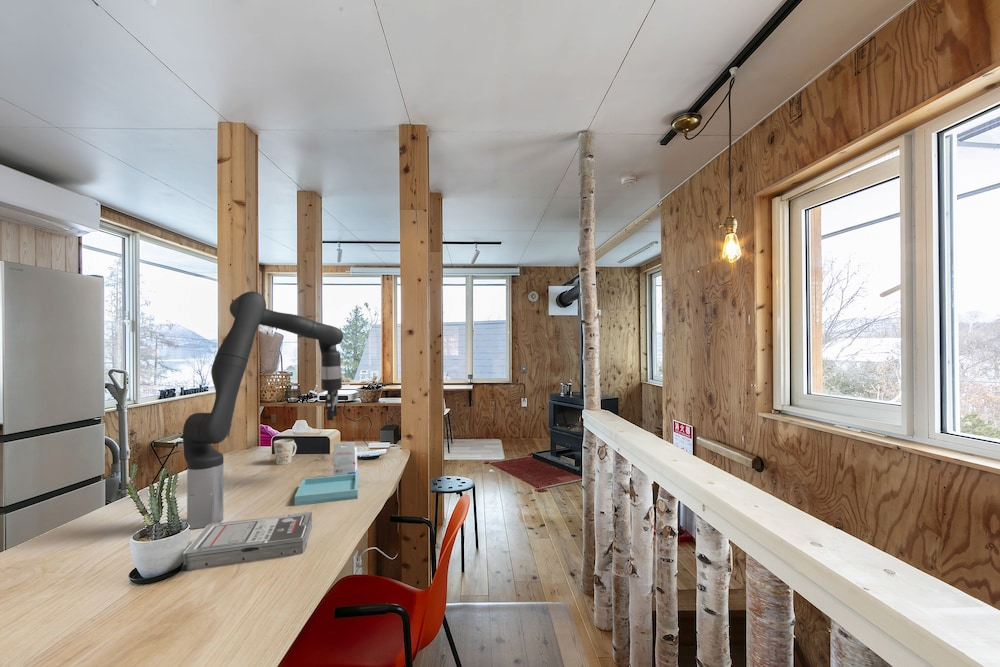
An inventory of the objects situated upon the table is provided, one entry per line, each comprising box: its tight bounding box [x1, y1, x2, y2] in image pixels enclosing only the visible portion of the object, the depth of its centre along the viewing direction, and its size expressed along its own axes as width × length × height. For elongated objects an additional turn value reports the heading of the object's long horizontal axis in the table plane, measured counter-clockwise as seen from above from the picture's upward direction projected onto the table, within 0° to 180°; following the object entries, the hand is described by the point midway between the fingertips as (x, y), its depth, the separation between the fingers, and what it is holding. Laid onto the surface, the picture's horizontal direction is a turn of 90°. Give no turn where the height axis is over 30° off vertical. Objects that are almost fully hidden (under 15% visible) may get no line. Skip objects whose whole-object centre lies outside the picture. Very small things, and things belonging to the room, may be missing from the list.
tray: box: [294, 473, 359, 506], centre depth 158 cm, size 20×20×3 cm
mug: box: [273, 438, 298, 465], centre depth 200 cm, size 8×13×10 cm, turn 171°
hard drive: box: [181, 511, 313, 572], centre depth 117 cm, size 18×27×4 cm
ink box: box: [332, 441, 358, 476], centre depth 175 cm, size 8×5×15 cm, turn 99°
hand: (332, 418), depth 173 cm, fingers open, 8 cm apart
